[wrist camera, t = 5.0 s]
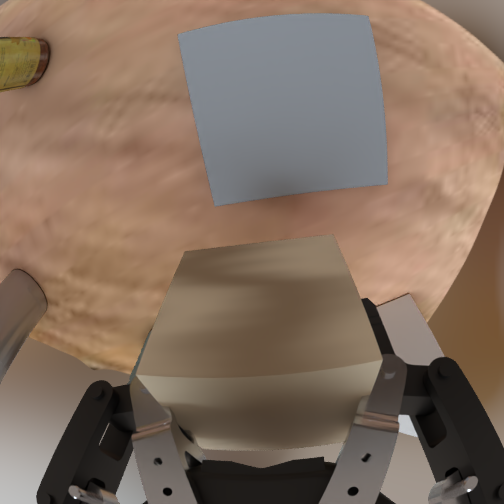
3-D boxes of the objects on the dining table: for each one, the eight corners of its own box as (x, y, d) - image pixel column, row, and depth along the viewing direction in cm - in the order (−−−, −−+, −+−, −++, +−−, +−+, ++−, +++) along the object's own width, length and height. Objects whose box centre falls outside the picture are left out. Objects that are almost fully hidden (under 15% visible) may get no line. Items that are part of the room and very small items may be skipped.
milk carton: (367, 342, 36) (401, 458, 20) (361, 311, 33) (404, 445, 17) (410, 325, 35) (456, 433, 19) (409, 292, 32) (470, 414, 15)
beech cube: (217, 345, 14) (202, 448, 9) (184, 251, 11) (135, 374, 6) (330, 335, 14) (349, 440, 8) (333, 234, 10) (383, 360, 5)
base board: (217, 198, 26) (214, 206, 24) (183, 39, 18) (177, 34, 16) (379, 178, 24) (387, 184, 23) (360, 21, 16) (368, 15, 15)
